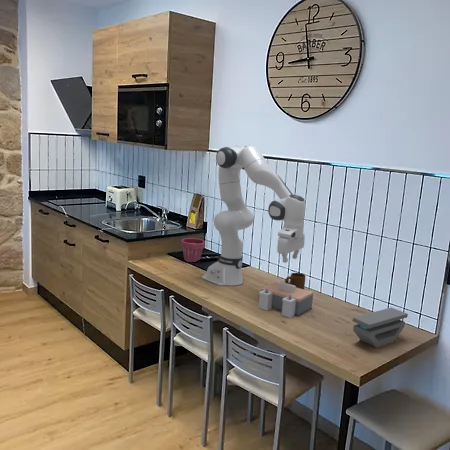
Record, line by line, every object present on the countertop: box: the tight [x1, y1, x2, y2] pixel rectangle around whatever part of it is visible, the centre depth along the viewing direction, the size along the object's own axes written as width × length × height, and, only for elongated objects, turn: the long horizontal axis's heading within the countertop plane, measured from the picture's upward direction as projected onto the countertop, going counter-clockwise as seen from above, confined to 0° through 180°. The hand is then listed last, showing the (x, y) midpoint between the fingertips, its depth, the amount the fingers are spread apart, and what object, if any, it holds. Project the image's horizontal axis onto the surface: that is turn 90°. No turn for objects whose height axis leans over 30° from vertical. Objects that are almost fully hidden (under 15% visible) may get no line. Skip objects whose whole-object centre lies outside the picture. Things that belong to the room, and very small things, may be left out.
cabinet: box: [258, 288, 314, 319], centre depth 222 cm, size 20×18×9 cm
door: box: [258, 281, 314, 303], centre depth 221 cm, size 20×18×4 cm
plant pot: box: [181, 237, 206, 263], centre depth 289 cm, size 14×14×13 cm
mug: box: [284, 272, 306, 290], centre depth 245 cm, size 12×8×9 cm, turn 123°
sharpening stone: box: [352, 307, 409, 348], centre depth 193 cm, size 25×8×11 cm, turn 126°
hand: (289, 260), depth 220 cm, fingers open, 8 cm apart
